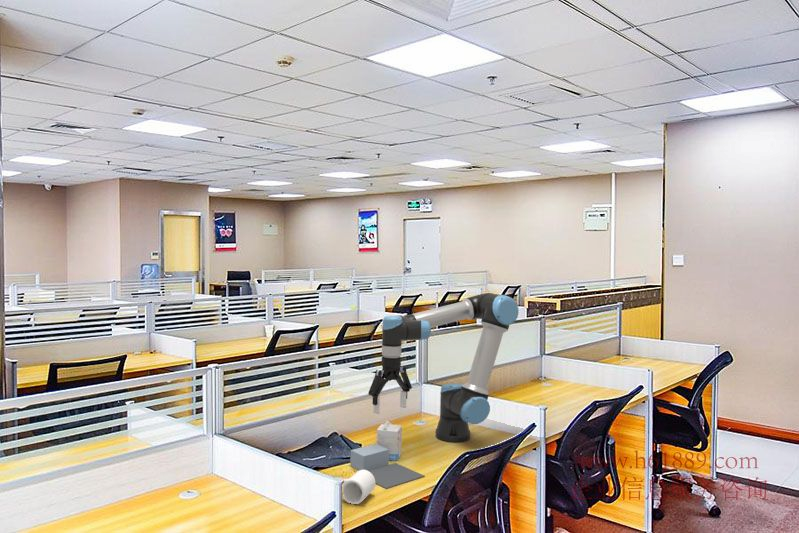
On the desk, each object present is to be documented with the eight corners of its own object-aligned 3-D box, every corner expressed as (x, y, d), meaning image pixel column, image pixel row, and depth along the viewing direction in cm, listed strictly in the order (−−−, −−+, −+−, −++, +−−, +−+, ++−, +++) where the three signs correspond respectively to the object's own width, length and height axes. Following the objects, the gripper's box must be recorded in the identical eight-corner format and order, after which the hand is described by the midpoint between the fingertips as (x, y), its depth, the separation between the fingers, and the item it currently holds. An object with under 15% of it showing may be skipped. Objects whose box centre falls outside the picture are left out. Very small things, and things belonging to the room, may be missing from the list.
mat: (395, 463, 236) (395, 462, 236) (424, 476, 224) (424, 475, 224) (357, 474, 224) (357, 473, 224) (386, 489, 212) (386, 487, 212)
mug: (375, 494, 207) (375, 471, 207) (364, 506, 198) (364, 482, 197) (342, 489, 211) (342, 466, 211) (329, 500, 202) (330, 476, 201)
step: (375, 459, 240) (375, 443, 240) (388, 465, 234) (389, 449, 234) (350, 466, 232) (350, 450, 232) (363, 472, 226) (363, 456, 226)
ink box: (397, 461, 238) (397, 427, 238) (375, 459, 240) (376, 425, 239) (401, 454, 247) (402, 420, 246) (380, 452, 248) (381, 418, 248)
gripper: (408, 351, 252) (407, 403, 253) (359, 358, 236) (358, 413, 237) (421, 354, 247) (419, 407, 248) (372, 361, 230) (371, 418, 231)
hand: (390, 410), depth 242 cm, fingers open, 13 cm apart
